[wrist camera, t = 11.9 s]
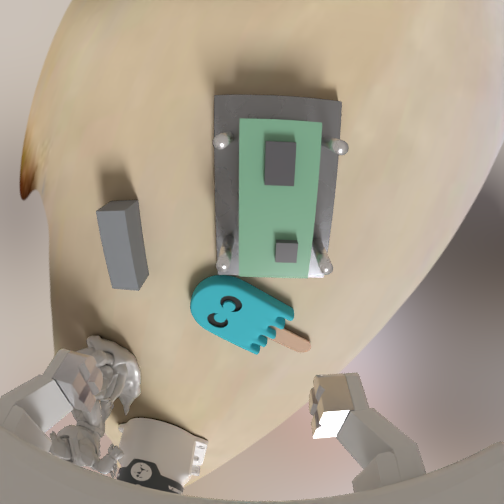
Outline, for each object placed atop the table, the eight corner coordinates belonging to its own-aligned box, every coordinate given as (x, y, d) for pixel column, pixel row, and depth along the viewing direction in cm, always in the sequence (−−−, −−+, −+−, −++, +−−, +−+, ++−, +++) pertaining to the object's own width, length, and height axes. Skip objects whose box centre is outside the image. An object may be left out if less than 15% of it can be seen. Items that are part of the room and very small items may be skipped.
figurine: (74, 309, 31) (5, 413, 15) (159, 351, 34) (118, 476, 18) (73, 375, 39) (34, 455, 23) (138, 407, 41) (111, 494, 25)
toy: (290, 371, 32) (178, 317, 29) (289, 359, 34) (182, 306, 31) (331, 336, 29) (210, 270, 26) (328, 325, 31) (213, 259, 28)
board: (305, 268, 24) (308, 282, 22) (240, 267, 24) (238, 280, 22) (318, 122, 19) (324, 122, 17) (241, 118, 19) (238, 118, 17)
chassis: (321, 272, 28) (332, 306, 23) (219, 269, 28) (210, 303, 23) (338, 102, 20) (360, 98, 15) (216, 96, 21) (203, 90, 16)
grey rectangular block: (148, 274, 28) (138, 290, 26) (124, 273, 28) (112, 288, 26) (138, 200, 25) (124, 210, 22) (111, 201, 25) (96, 211, 22)
